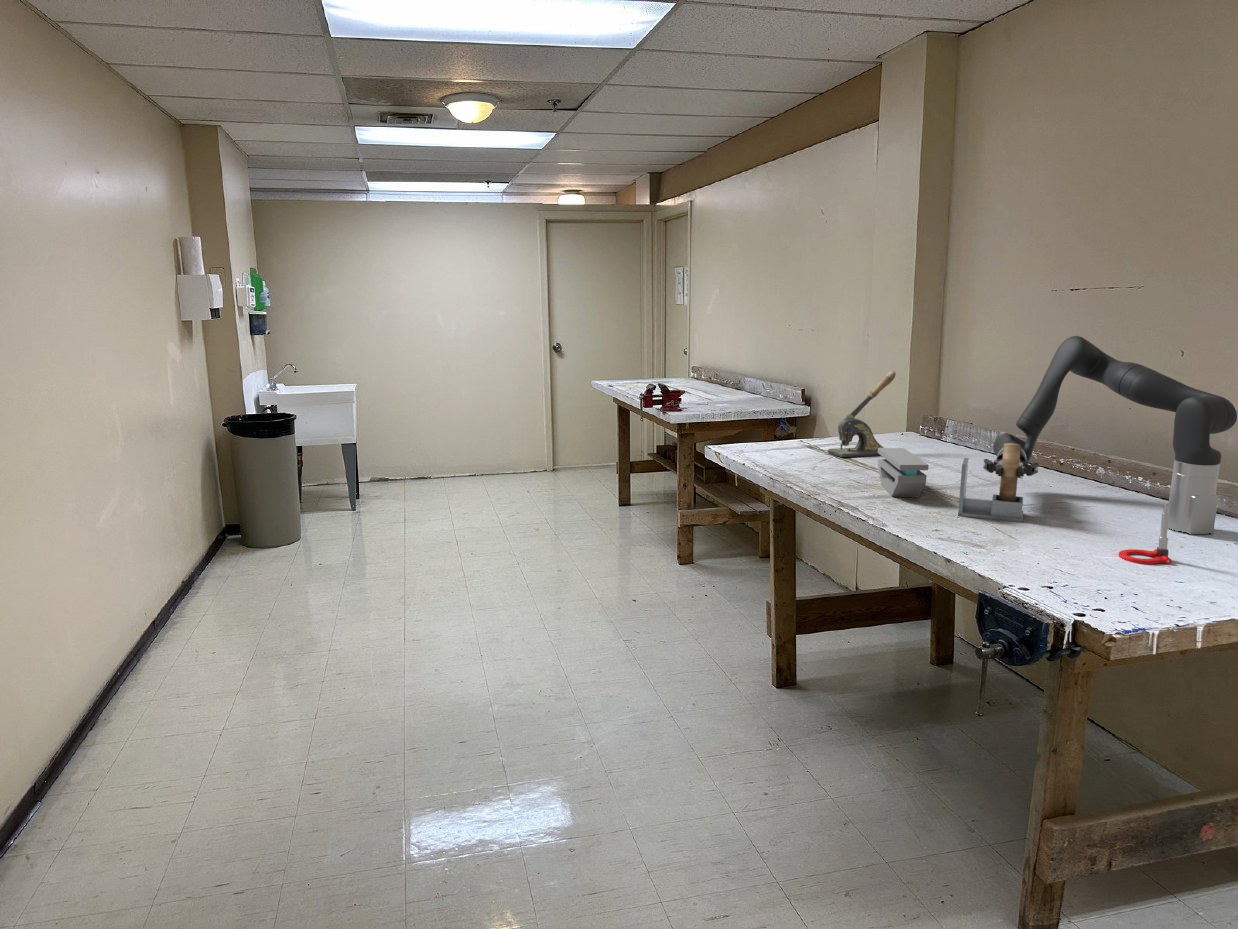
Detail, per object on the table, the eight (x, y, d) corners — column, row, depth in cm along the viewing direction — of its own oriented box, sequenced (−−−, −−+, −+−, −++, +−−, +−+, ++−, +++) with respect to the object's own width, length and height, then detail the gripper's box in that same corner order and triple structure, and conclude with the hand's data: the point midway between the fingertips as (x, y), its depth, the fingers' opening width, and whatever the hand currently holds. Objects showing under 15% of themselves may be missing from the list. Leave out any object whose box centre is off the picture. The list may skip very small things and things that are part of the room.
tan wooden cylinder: (1018, 506, 216) (1023, 446, 213) (1003, 506, 216) (1008, 446, 212) (1009, 501, 220) (1015, 443, 216) (995, 502, 220) (1000, 443, 216)
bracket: (960, 507, 227) (964, 457, 224) (1023, 513, 221) (1027, 462, 218) (958, 515, 219) (962, 464, 216) (1022, 522, 213) (1027, 469, 210)
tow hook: (1126, 565, 181) (1173, 566, 179) (1130, 508, 179) (1178, 508, 176) (1112, 553, 189) (1158, 554, 187) (1116, 499, 187) (1162, 499, 184)
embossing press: (825, 453, 304) (829, 371, 297) (884, 449, 309) (888, 369, 302) (839, 458, 293) (843, 374, 287) (899, 455, 298) (905, 372, 292)
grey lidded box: (925, 502, 233) (928, 464, 231) (897, 502, 234) (900, 464, 231) (901, 482, 258) (903, 447, 255) (876, 482, 258) (878, 447, 256)
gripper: (984, 444, 231) (981, 456, 216) (1041, 449, 225) (1041, 461, 210) (982, 471, 232) (978, 484, 217) (1038, 475, 226) (1038, 490, 211)
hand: (1009, 473), depth 214 cm, fingers closed on tan wooden cylinder, 4 cm apart
